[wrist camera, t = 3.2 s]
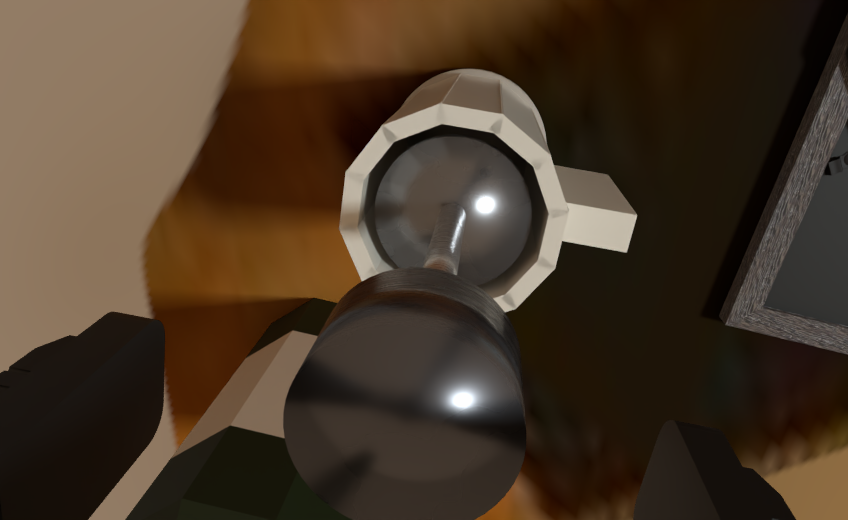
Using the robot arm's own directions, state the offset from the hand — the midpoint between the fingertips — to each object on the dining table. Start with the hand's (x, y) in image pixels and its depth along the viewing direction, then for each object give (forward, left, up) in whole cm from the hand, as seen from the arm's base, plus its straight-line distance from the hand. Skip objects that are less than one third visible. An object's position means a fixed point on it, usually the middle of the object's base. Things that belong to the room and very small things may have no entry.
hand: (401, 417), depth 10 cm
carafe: (-1, 0, -24) cm, 24 cm away
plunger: (0, 0, -12) cm, 12 cm away
